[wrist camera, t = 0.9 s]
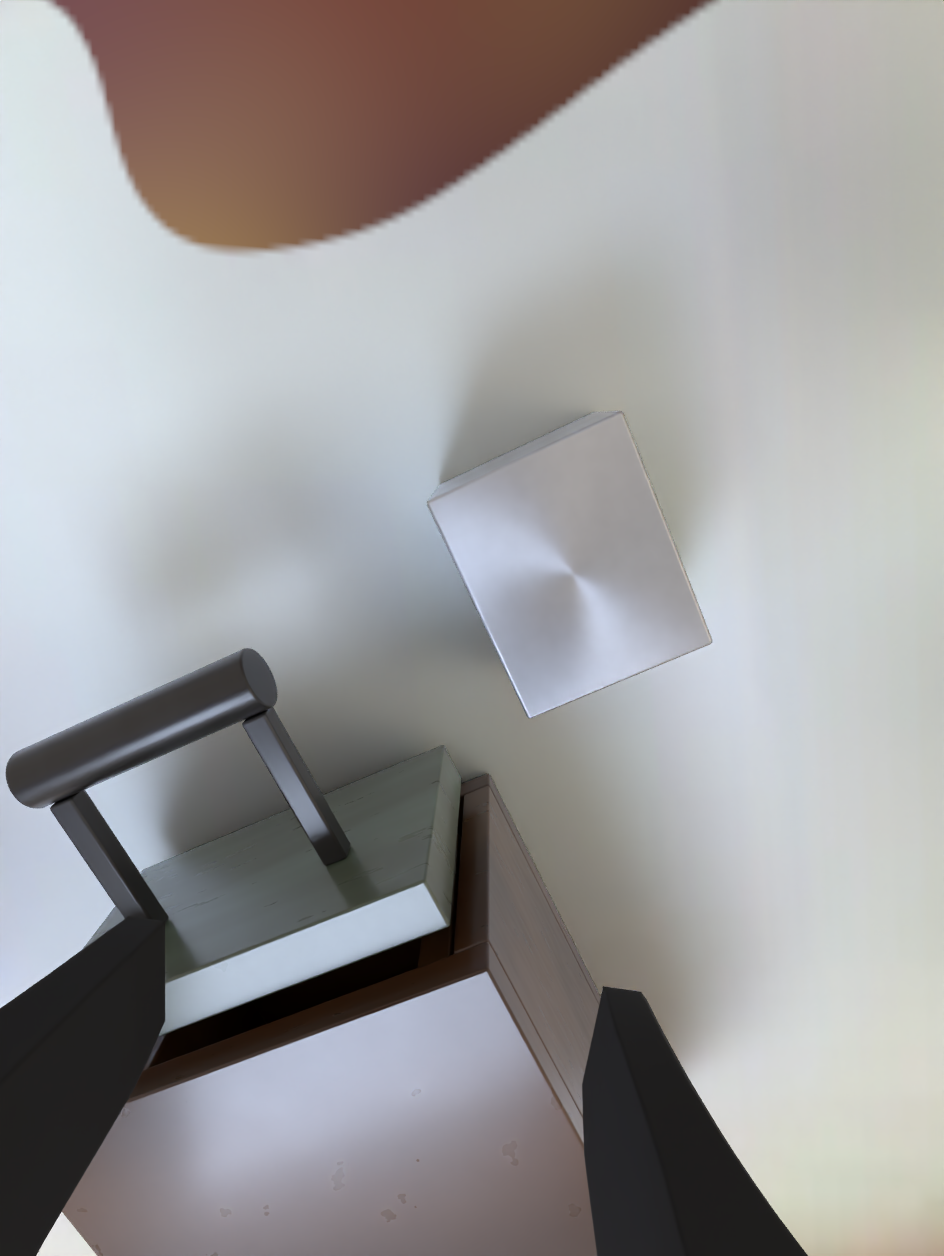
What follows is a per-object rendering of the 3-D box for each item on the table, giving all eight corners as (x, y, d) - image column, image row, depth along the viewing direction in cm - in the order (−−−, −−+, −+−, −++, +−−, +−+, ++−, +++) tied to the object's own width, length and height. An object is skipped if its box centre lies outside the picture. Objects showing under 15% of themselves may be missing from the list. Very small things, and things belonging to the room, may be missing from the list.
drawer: (43, 717, 21) (-142, 842, 15) (357, 574, 19) (296, 645, 13) (337, 1164, 25) (288, 1404, 19) (611, 1071, 24) (653, 1297, 18)
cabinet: (168, 901, 23) (6, 1145, 16) (488, 771, 22) (488, 968, 14) (364, 1199, 27) (311, 1524, 19) (654, 1103, 25) (729, 1414, 17)
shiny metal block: (437, 485, 20) (424, 501, 16) (596, 410, 19) (623, 408, 15) (521, 664, 21) (528, 720, 17) (671, 600, 20) (714, 643, 16)
